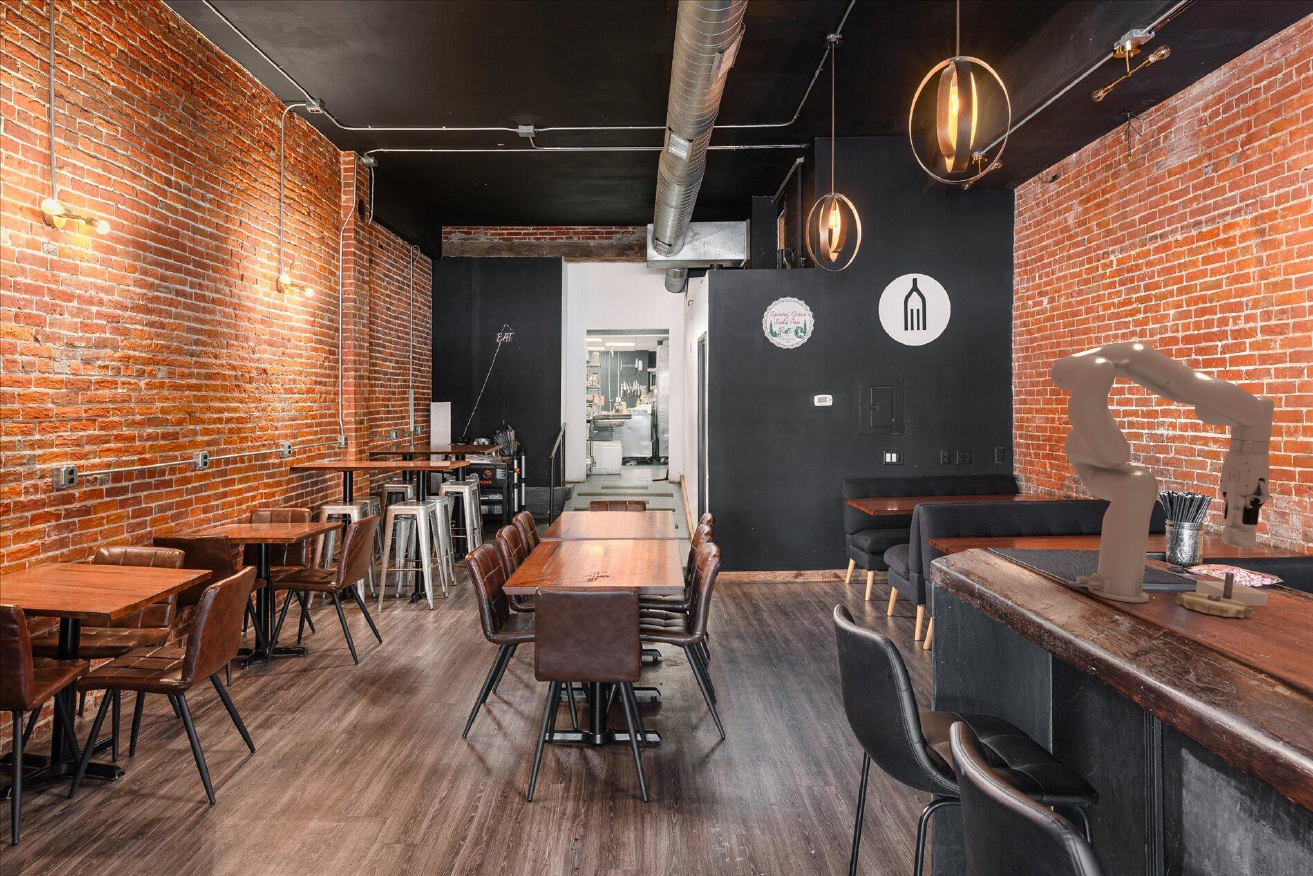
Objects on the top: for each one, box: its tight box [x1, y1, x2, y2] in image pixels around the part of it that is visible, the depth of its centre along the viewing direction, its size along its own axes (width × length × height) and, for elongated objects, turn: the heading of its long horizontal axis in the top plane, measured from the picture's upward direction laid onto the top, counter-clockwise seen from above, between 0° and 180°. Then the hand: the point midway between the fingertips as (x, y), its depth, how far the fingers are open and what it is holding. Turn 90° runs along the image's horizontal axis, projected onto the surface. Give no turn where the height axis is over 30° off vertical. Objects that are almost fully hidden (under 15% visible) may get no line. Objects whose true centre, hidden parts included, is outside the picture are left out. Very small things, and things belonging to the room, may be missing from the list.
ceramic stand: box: [1195, 579, 1270, 607], centre depth 185 cm, size 10×10×3 cm
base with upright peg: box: [1175, 571, 1253, 619], centre depth 174 cm, size 14×14×8 cm
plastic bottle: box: [1221, 481, 1257, 549], centre depth 183 cm, size 6×7×20 cm
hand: (1240, 521), depth 183 cm, fingers closed on plastic bottle, 5 cm apart
